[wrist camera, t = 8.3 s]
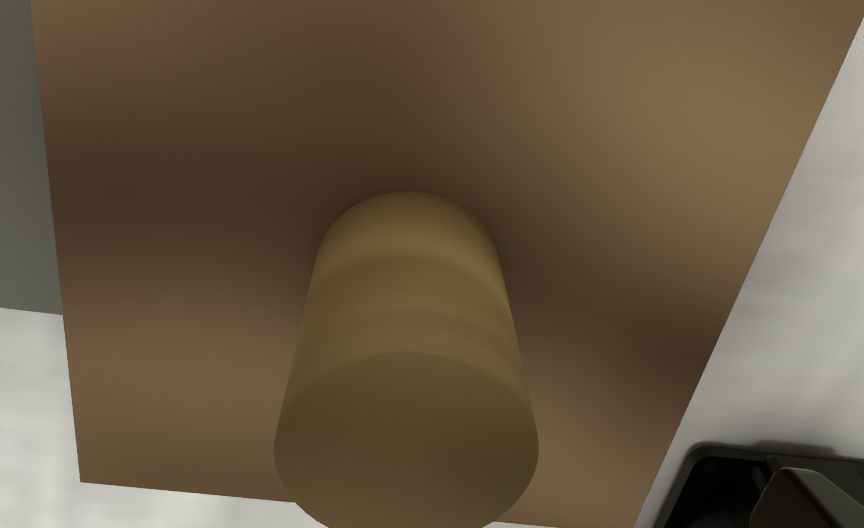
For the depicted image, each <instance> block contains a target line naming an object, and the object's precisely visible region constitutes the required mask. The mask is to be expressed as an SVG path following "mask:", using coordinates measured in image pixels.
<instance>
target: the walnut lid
mask: <svg viewBox="0 0 864 528" xmlns="http://www.w3.org/2000/svg"><path fill="white" fill-rule="evenodd" d="M30 5H31V14H32V24H33V33H34V43H35V53H36V62H37V72H38V81H39V91H40V100H41V110H42V119H43V129H44V139H45V148H46V158H47V167H48V177H49V186H50V196H51V205H52V215H53V225H54V234H55V244H56V253H57V263H58V272H59V282H60V291H61V301H62V311H63V320H64V330H65V339H66V349H67V358H68V368H69V377H70V387H71V397H72V406H73V416H74V425H75V435H76V444H77V454H78V463H79V473H80V482H84V483H95V484H105V485H116V486H127V487H137V488H148V489H158V490H169V491H179V492H190V493H200V494H211V495H221V496H232V497H242V498H253V499H263V500H274V501H284V502H295V503H296V504H297V505H298V506H299V507H301V508H302V509H303V510H304V511H305V512H306V513H307V514H308V515H310V516H311V517H312V518H314V519H315V520H316V521H318V522H320V523H321V524H323V525H325V526H327V527H328V528H482V527H484V526H486V525H488V524H490V523H491V522H493V521H495V522H505V523H516V524H526V525H537V526H547V527H558V528H633V526H634V524H635V522H636V520H637V518H638V515H639V513H640V511H641V509H642V506H643V504H644V502H645V500H646V498H647V495H648V493H649V491H650V489H651V487H652V484H653V482H654V480H655V478H656V475H657V473H658V471H659V469H660V467H661V464H662V462H663V460H664V458H665V456H666V453H667V451H668V449H669V447H670V444H671V442H672V440H673V438H674V436H675V433H676V431H677V429H678V427H679V425H680V422H681V420H682V418H683V416H684V413H685V411H686V409H687V407H688V405H689V402H690V400H691V398H692V396H693V394H694V391H695V389H696V387H697V385H698V382H699V380H700V378H701V376H702V374H703V371H704V369H705V367H706V365H707V363H708V360H709V358H710V356H711V354H712V351H713V349H714V347H715V345H716V343H717V340H718V338H719V336H720V334H721V332H722V329H723V327H724V325H725V323H726V320H727V318H728V316H729V314H730V312H731V309H732V307H733V305H734V303H735V301H736V298H737V296H738V294H739V292H740V289H741V287H742V285H743V283H744V281H745V278H746V276H747V274H748V272H749V270H750V267H751V265H752V263H753V261H754V258H755V256H756V254H757V252H758V250H759V247H760V245H761V243H762V241H763V239H764V236H765V234H766V232H767V230H768V227H769V225H770V223H771V221H772V219H773V216H774V214H775V212H776V210H777V208H778V205H779V203H780V201H781V199H782V196H783V194H784V192H785V190H786V188H787V185H788V183H789V181H790V179H791V177H792V174H793V172H794V170H795V168H796V165H797V163H798V161H799V159H800V157H801V154H802V152H803V150H804V148H805V146H806V143H807V141H808V139H809V137H810V134H811V132H812V130H813V128H814V126H815V123H816V121H817V119H818V117H819V115H820V112H821V110H822V108H823V106H824V103H825V101H826V99H827V97H828V95H829V92H830V90H831V88H832V86H833V84H834V81H835V79H836V77H837V75H838V72H839V70H840V68H841V66H842V64H843V61H844V59H845V57H846V55H847V53H848V50H849V48H850V46H851V44H852V41H853V39H854V37H855V35H856V33H857V30H858V28H859V26H860V24H861V22H862V19H863V17H864V0H30Z"/></svg>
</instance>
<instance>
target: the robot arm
mask: <svg viewBox="0 0 864 528" xmlns="http://www.w3.org/2000/svg"><path fill="white" fill-rule="evenodd" d="M707 462H709V463H707ZM705 463H707V464H705ZM655 528H864V463H860V462H851V461H841V460H832V459H823V458H814V457H805V456H796V455H786V454H777V453H768V452H759V451H750V450H740V449H731V448H722V447H713V446H704V447H701V448H697V449H696V450H694V451H693V452H692V453H691V454H690V455H689V457H688V459H687V461H686V463H685V465H684V467H683V469H682V471H681V474H680V476H679V478H678V480H677V482H676V484H675V486H674V488H673V491H672V493H671V495H670V497H669V499H668V501H667V503H666V505H665V507H664V510H663V512H662V514H661V516H660V518H659V520H658V522H657V524H656V527H655Z"/></svg>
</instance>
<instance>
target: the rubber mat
mask: <svg viewBox="0 0 864 528" xmlns="http://www.w3.org/2000/svg"><path fill="white" fill-rule="evenodd" d="M0 308H8V309H16V310H25V311H34V312H42V313H51V314H59V315H63V311H62V301H61V291H60V282H59V272H58V263H57V253H56V244H55V234H54V225H53V215H52V205H51V196H50V186H49V177H48V167H47V158H46V148H45V139H44V129H43V119H42V110H41V100H40V91H39V81H38V72H37V62H36V53H35V43H34V33H33V24H32V14H31V5H30V0H0Z"/></svg>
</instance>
